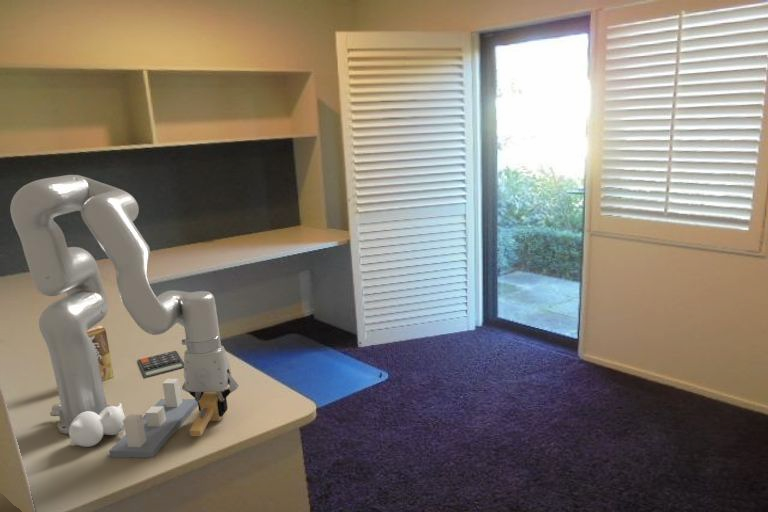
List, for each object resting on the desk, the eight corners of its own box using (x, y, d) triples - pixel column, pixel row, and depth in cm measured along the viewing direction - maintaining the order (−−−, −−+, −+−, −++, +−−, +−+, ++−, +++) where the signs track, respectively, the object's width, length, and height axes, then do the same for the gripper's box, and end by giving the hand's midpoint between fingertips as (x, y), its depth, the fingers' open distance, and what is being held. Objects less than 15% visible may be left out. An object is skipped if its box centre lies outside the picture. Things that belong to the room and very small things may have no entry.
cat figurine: (120, 391, 131) (64, 410, 123) (138, 426, 126) (81, 448, 118) (116, 413, 136) (62, 432, 128) (134, 448, 131) (79, 470, 123)
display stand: (110, 456, 121) (103, 424, 119) (161, 404, 144) (157, 376, 142) (153, 457, 120) (147, 424, 118) (198, 404, 142) (194, 375, 140)
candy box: (109, 373, 164) (100, 324, 161) (115, 377, 161) (105, 327, 158) (77, 384, 158) (67, 334, 154) (82, 388, 155) (72, 337, 152)
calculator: (175, 349, 178) (185, 365, 165) (176, 352, 178) (186, 368, 165) (136, 359, 172) (144, 376, 159) (137, 362, 172) (144, 379, 160)
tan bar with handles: (190, 445, 127) (184, 425, 124) (221, 388, 145) (216, 369, 142) (207, 445, 127) (201, 425, 124) (236, 388, 144) (231, 369, 142)
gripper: (162, 350, 128) (174, 421, 132) (232, 349, 126) (241, 422, 130) (177, 338, 135) (188, 405, 140) (243, 337, 133) (252, 406, 138)
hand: (213, 413), depth 135 cm, fingers closed on tan bar with handles, 3 cm apart
